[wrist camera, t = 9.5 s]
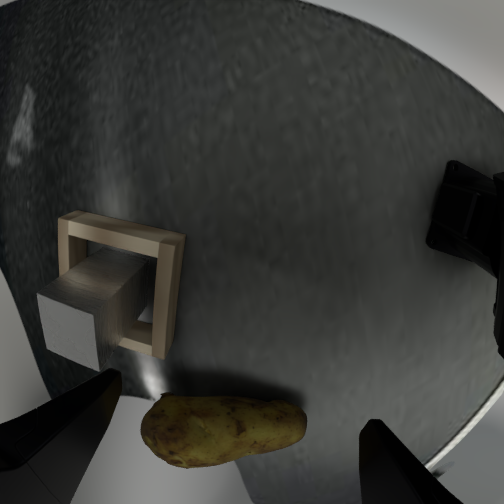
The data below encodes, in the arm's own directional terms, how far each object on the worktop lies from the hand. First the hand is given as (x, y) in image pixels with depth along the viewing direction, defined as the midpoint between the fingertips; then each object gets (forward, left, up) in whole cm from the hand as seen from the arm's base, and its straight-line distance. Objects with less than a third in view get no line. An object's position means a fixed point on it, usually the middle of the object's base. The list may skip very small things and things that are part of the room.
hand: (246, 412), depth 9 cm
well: (+10, +3, -12) cm, 16 cm away
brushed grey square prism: (+10, +3, -12) cm, 16 cm away
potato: (0, +13, -12) cm, 18 cm away
